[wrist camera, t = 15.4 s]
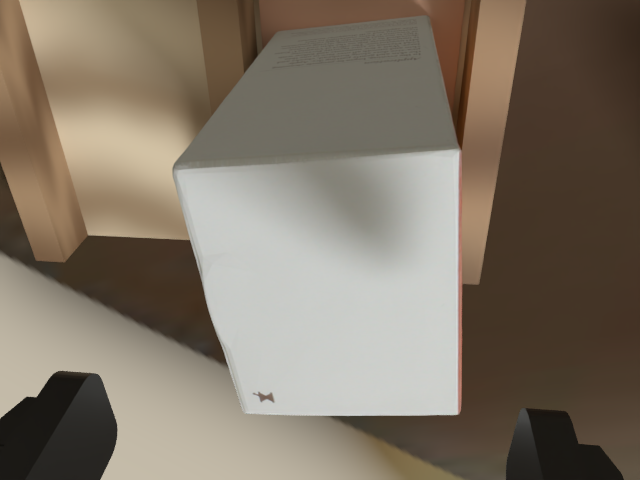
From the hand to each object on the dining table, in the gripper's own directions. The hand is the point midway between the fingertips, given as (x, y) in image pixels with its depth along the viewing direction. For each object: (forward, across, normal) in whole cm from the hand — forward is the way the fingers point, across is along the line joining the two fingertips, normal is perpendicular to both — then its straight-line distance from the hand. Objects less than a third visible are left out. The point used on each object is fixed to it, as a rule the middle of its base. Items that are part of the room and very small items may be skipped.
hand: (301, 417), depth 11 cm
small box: (+16, 0, 0) cm, 17 cm away
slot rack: (+17, +5, 0) cm, 18 cm away
